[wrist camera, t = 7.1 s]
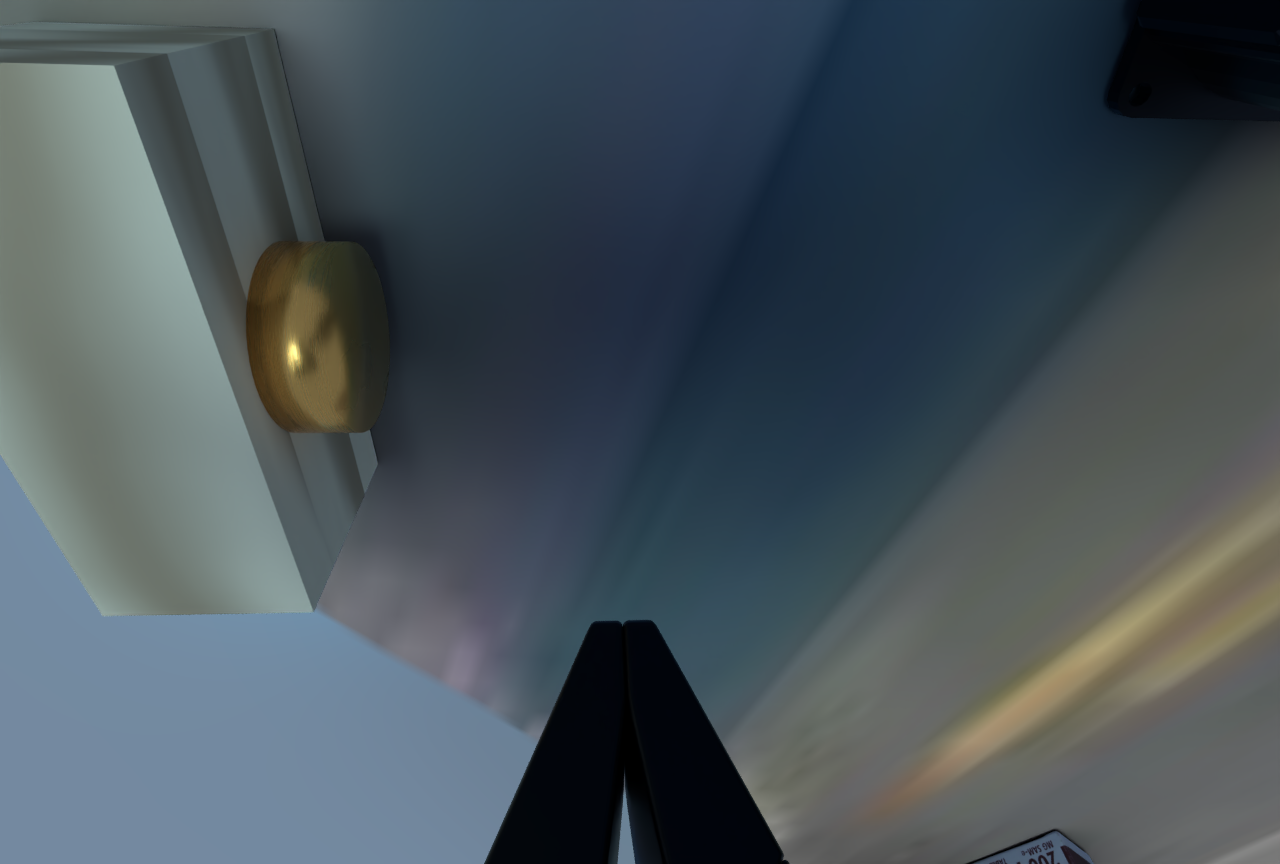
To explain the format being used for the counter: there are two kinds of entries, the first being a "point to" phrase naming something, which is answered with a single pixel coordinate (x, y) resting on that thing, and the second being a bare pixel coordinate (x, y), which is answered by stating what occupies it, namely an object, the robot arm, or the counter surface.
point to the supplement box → (1042, 852)
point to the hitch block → (158, 318)
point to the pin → (318, 336)
